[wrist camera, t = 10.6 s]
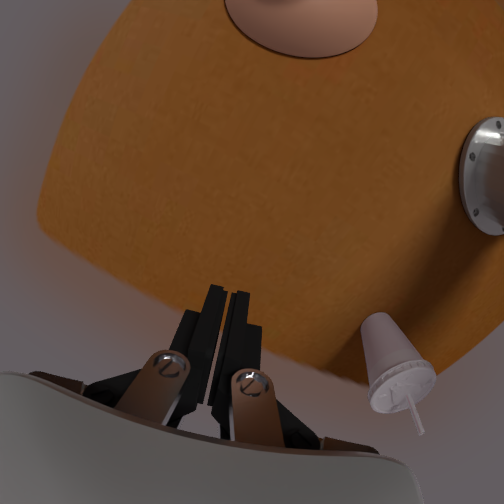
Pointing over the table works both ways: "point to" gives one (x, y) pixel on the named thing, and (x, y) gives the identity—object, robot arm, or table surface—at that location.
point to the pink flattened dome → (305, 24)
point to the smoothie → (394, 368)
